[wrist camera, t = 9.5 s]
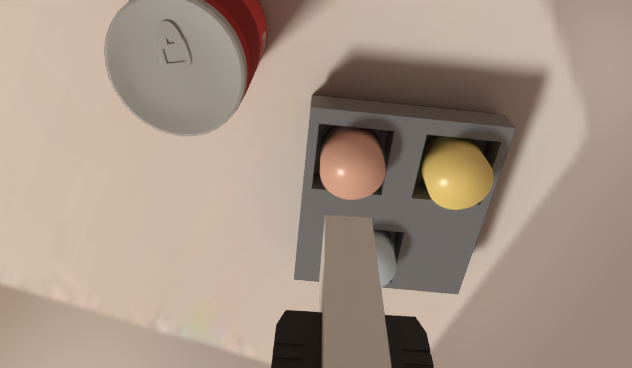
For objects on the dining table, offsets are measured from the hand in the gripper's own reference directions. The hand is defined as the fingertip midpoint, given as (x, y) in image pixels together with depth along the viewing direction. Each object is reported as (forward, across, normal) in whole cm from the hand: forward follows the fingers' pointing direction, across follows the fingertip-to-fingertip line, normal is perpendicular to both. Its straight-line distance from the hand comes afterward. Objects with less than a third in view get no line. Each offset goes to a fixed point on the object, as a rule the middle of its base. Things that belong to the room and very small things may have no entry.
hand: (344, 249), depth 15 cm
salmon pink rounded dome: (+21, +2, -7) cm, 22 cm away
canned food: (+23, -9, +1) cm, 25 cm away
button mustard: (+21, +10, -8) cm, 24 cm away
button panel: (+23, +6, -12) cm, 26 cm away
